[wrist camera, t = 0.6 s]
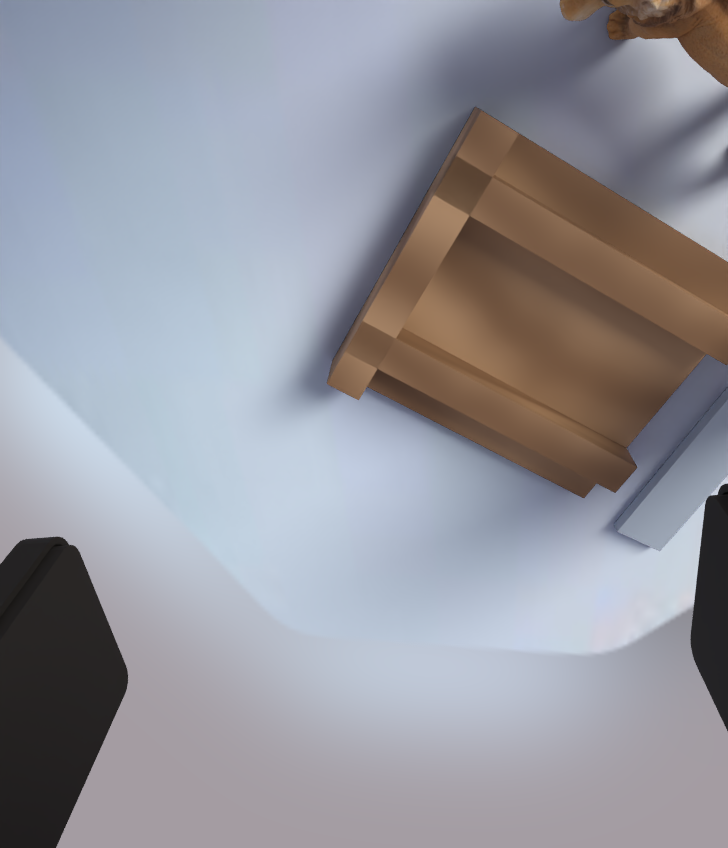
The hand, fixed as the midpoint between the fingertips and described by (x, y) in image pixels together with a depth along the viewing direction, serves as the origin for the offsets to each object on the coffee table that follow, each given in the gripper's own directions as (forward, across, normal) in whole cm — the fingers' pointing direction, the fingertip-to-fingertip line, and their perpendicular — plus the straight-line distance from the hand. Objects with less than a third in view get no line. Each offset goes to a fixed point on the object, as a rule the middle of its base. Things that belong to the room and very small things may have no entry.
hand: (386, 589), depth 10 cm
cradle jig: (+26, -6, +6) cm, 27 cm away
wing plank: (+26, -14, +15) cm, 34 cm away
